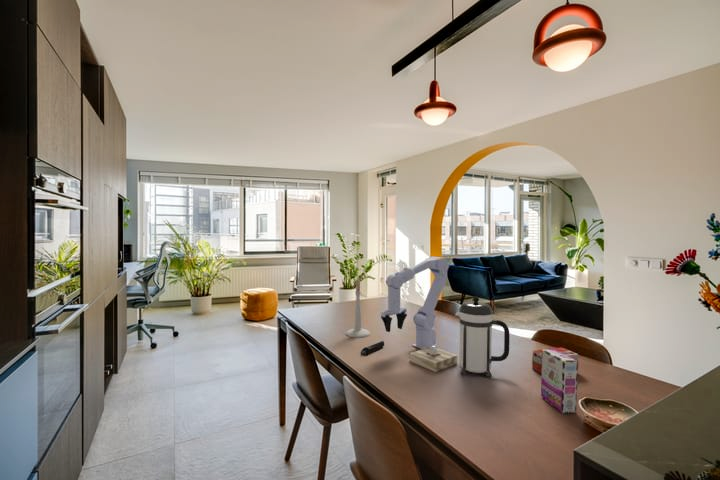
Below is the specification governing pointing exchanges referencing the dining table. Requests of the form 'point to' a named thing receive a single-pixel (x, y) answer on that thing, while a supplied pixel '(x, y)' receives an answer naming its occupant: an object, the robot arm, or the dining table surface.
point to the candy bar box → (559, 380)
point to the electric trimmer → (372, 348)
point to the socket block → (433, 359)
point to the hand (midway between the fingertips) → (393, 330)
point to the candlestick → (357, 318)
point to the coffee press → (478, 337)
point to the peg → (433, 350)
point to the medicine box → (538, 358)
